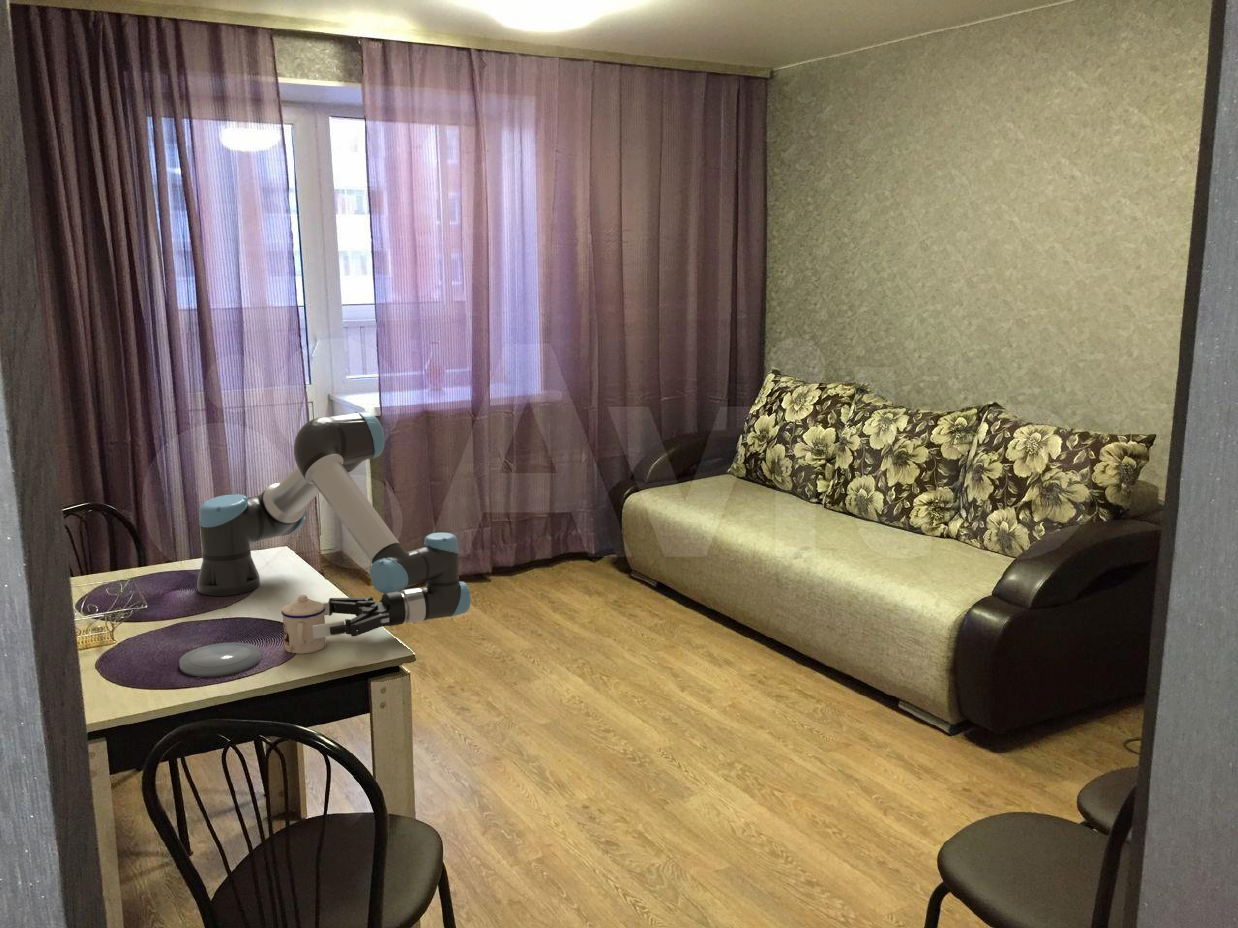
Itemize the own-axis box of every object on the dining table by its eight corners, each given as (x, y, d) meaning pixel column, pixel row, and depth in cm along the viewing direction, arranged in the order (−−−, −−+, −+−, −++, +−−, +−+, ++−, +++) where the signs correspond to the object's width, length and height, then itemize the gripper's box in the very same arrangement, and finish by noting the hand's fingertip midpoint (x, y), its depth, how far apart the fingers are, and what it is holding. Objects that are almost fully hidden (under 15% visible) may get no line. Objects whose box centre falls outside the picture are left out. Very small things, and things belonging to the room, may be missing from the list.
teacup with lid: (286, 640, 228) (283, 590, 226) (329, 638, 230) (326, 588, 227) (278, 661, 216) (275, 608, 214) (323, 658, 218) (320, 606, 216)
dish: (175, 655, 219) (175, 649, 219) (254, 642, 227) (253, 637, 226) (184, 682, 205) (183, 676, 205) (267, 667, 213) (267, 661, 212)
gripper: (420, 640, 222) (320, 657, 212) (386, 606, 243) (294, 621, 233) (418, 607, 220) (318, 623, 210) (385, 576, 242) (293, 589, 232)
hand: (305, 622), depth 222 cm, fingers open, 13 cm apart
